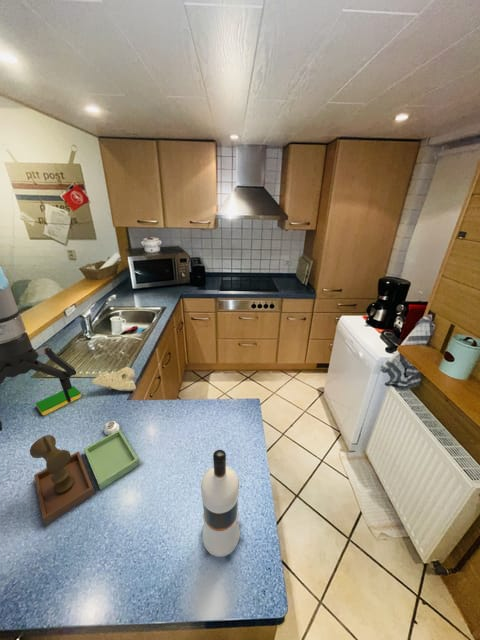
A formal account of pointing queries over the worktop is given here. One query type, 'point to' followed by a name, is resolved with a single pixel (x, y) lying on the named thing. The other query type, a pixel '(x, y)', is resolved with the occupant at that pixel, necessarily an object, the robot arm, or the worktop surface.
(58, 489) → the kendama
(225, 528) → the vodka
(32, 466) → the worktop surface
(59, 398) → the dish sponge
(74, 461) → the walnut tray
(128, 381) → the cheese
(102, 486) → the green tray
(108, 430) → the white jar
